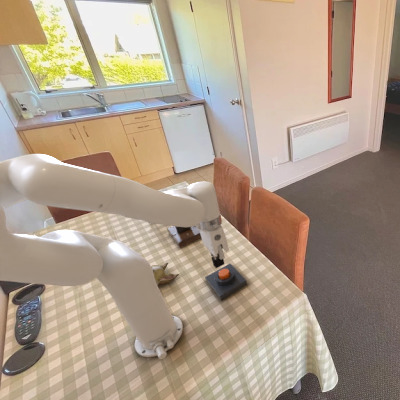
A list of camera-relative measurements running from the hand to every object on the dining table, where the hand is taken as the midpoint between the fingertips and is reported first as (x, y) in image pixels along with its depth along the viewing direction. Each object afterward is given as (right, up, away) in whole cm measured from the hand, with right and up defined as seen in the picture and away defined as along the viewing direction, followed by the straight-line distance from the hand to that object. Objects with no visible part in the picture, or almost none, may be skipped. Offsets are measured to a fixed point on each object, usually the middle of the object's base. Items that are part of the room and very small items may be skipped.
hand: (219, 265), depth 91 cm
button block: (+1, -8, +5) cm, 10 cm away
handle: (-27, +9, +28) cm, 40 cm away
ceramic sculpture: (-25, -9, +6) cm, 28 cm away
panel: (-26, +6, +30) cm, 40 cm away
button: (+1, -5, +4) cm, 6 cm away
